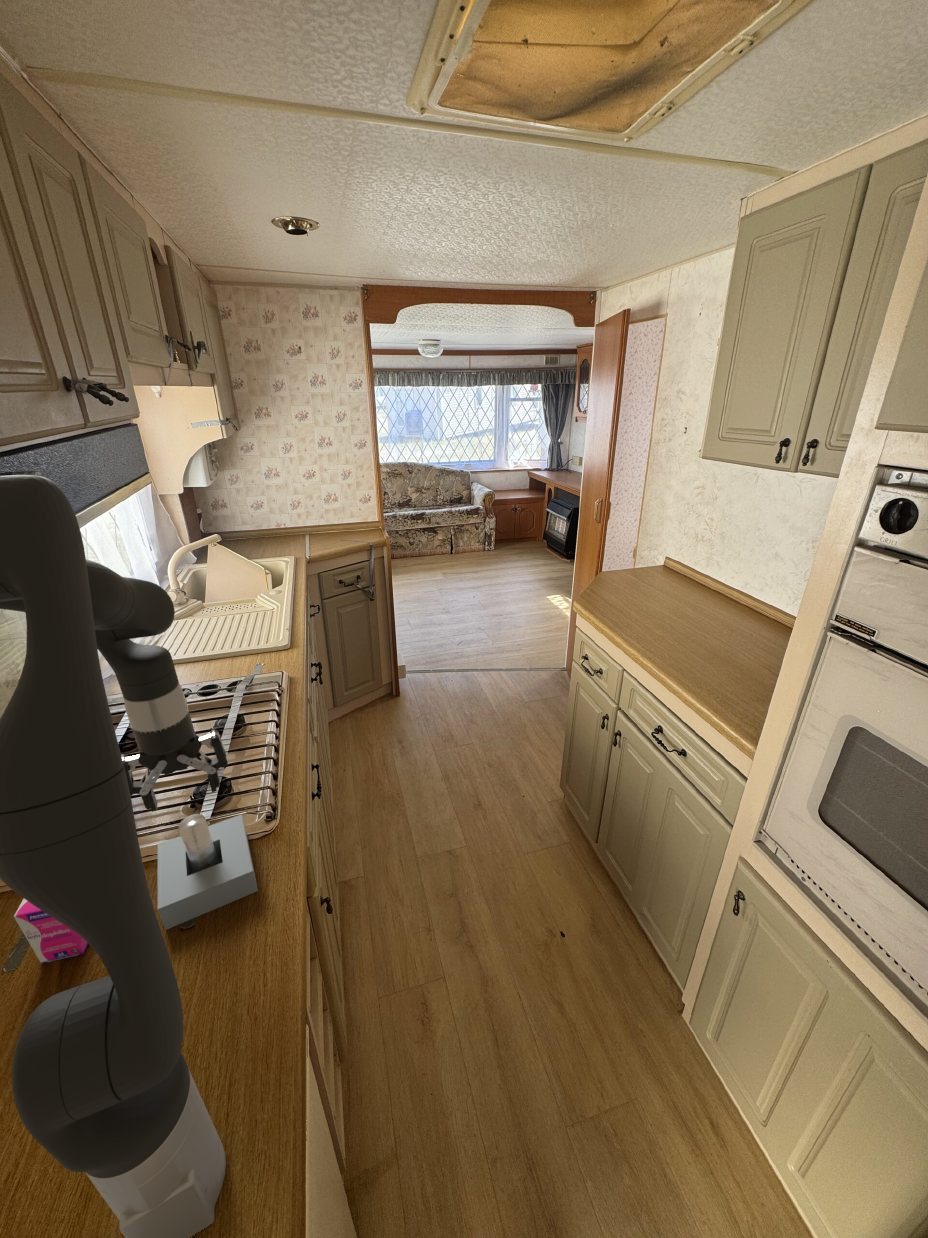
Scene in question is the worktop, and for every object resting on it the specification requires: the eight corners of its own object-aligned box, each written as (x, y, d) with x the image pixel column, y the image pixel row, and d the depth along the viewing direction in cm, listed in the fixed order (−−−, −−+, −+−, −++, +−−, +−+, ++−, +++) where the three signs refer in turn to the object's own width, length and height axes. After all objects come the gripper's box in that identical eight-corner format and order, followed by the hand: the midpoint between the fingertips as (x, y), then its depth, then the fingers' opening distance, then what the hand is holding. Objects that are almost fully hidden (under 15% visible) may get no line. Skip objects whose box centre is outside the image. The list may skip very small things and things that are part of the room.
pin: (221, 876, 87) (206, 827, 82) (196, 886, 86) (178, 836, 81) (219, 859, 91) (204, 810, 85) (195, 869, 89) (177, 819, 84)
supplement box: (40, 967, 75) (10, 917, 70) (57, 929, 80) (31, 880, 75) (84, 956, 76) (58, 906, 72) (99, 920, 82) (75, 871, 77)
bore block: (258, 891, 86) (252, 871, 84) (165, 930, 80) (157, 909, 78) (246, 833, 97) (241, 814, 95) (164, 863, 91) (157, 844, 89)
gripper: (99, 743, 68) (133, 831, 75) (214, 713, 74) (235, 797, 81) (104, 715, 74) (135, 799, 81) (210, 689, 80) (230, 769, 87)
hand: (185, 798), depth 81 cm, fingers open, 8 cm apart
